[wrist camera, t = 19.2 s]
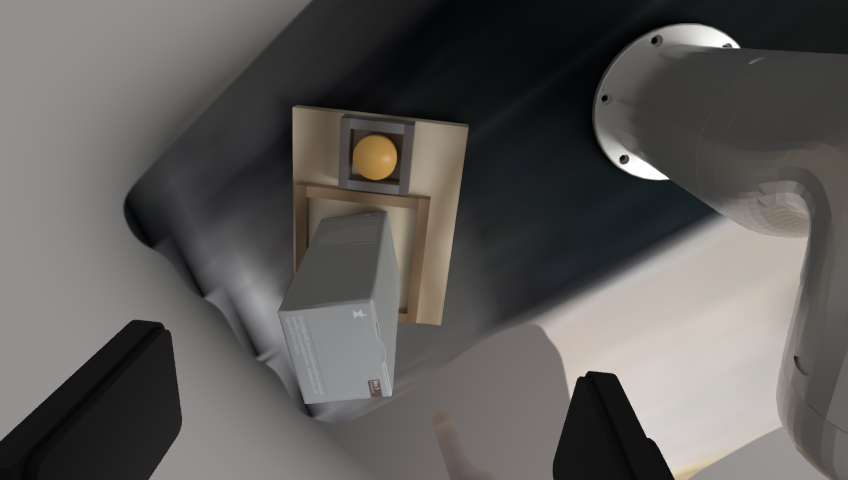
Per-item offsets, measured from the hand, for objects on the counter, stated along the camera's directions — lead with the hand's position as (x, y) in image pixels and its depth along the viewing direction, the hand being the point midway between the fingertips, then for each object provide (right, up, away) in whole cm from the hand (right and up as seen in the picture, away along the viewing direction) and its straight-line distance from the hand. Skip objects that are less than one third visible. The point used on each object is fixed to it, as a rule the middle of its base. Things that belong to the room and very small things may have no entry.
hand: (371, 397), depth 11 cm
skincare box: (-4, +2, +35) cm, 36 cm away
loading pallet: (-3, +6, +35) cm, 36 cm away
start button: (-3, +11, +31) cm, 33 cm away
